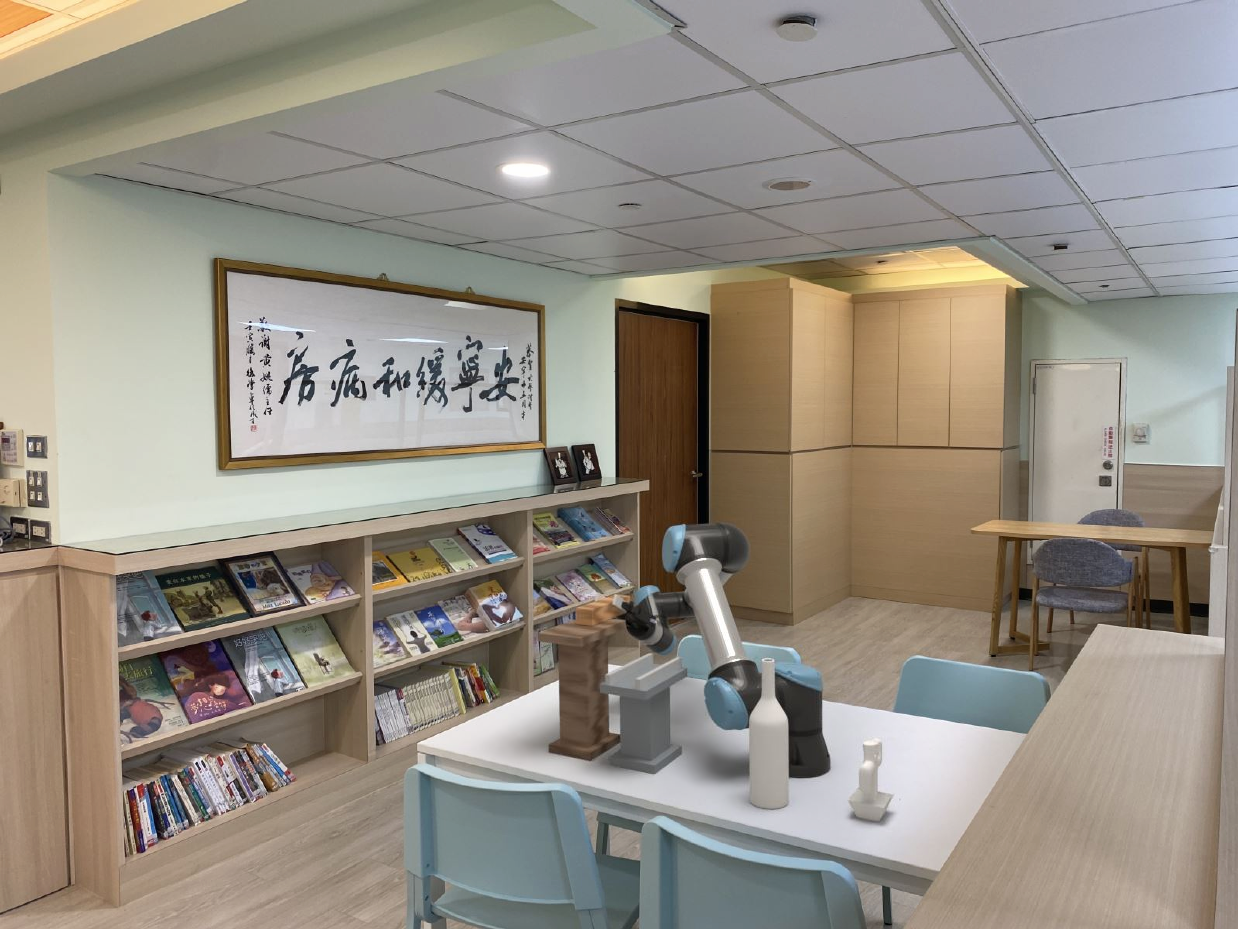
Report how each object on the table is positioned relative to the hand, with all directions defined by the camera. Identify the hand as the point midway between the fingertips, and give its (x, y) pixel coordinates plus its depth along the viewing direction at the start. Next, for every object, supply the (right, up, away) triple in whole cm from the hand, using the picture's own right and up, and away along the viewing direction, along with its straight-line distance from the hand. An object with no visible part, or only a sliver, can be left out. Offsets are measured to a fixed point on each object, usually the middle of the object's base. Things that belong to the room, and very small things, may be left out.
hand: (605, 598), depth 231 cm
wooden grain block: (0, -5, -1) cm, 5 cm away
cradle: (+10, -36, -17) cm, 40 cm away
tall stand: (-5, -35, -8) cm, 37 cm away
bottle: (+35, -37, -41) cm, 65 cm away
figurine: (+54, -37, -48) cm, 81 cm away
